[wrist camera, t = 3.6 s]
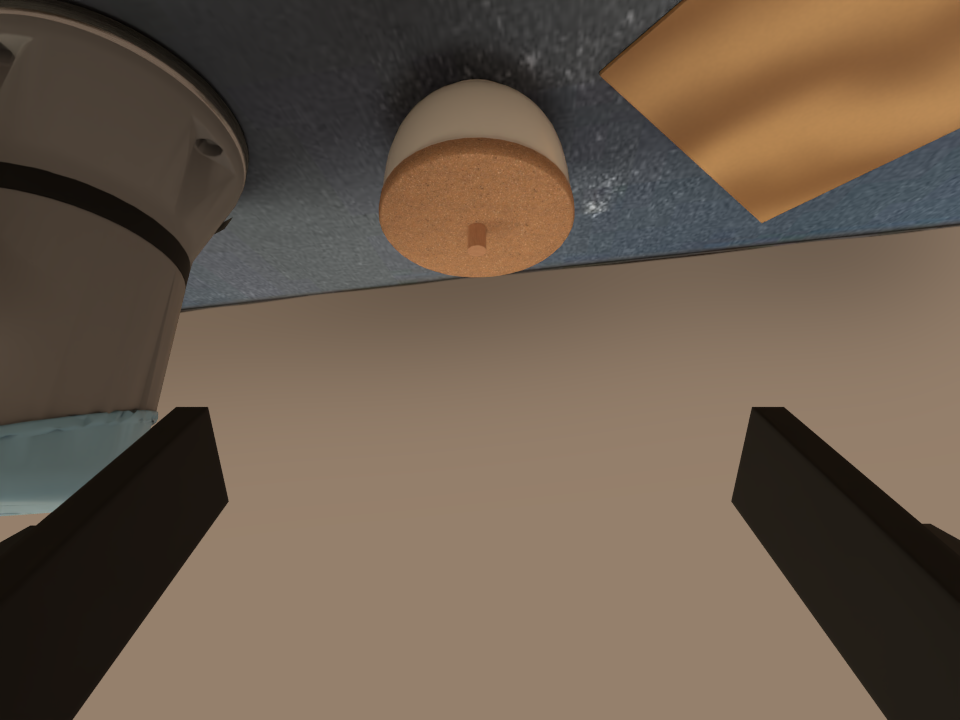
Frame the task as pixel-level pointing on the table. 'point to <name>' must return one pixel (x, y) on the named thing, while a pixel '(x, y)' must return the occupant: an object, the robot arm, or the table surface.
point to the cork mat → (795, 89)
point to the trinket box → (476, 183)
